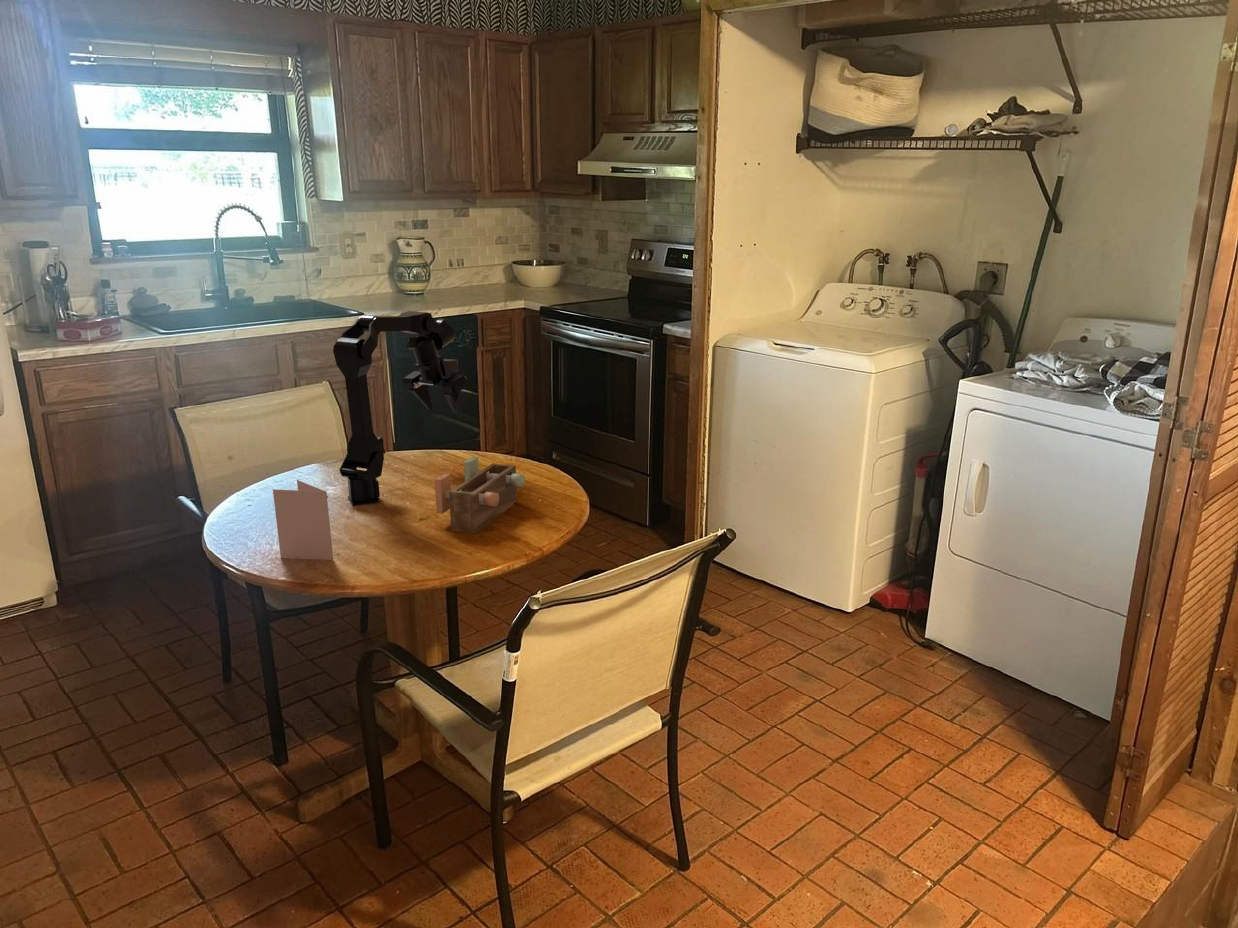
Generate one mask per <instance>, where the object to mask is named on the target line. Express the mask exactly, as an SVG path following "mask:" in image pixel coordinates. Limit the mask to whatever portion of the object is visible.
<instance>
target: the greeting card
mask: <svg viewBox="0 0 1238 928" xmlns="http://www.w3.org/2000/svg"><path fill="white" fill-rule="evenodd" d="M296 487H297V489H294V490H292V489H272V494H273V496H272V497H273V503H274V512H275V520H276V529H277V537H278V546H279V554H280V555H279V556H280V558H282V559H283V558H284V559H297V558H299V559H303V560H317V561H319V560H320V561H334V555H333V554H334V553H333V543H332V535H331V534H332V533H331V532H332V531H331V523H330V514H329V513H330V512H329V505H328V504H329V502H328V498H329V496H328V495H327V493H328V492H327V491H326V490H323V489H321V488H318V487H317V486H316V487H315V486H313V485H311V484H308V483H306V482H304V481H301V480H299V479H296ZM299 559H298V560H299Z"/></svg>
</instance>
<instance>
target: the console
mask: <svg viewBox="0 0 1238 928" xmlns="http://www.w3.org/2000/svg"><path fill="white" fill-rule="evenodd" d="M516 469H517V468H516V465H513V464H512V465H511V464H503V463H491V464H490V465H488V466H487V467H485V468H484V469H482V470H479V473H477V474H476V475H474V476H473V477H471V478H469V479H468V480H466V481H465V480H464V481H463V482H462V483H460V484H458V485H457V486H455V487H454V488H451V491H449V500H450V509H449V510H450V511H449V516H450V531H452V532H453V531H454V532H460V533H461V532H462V533H469V534H477V533H478V532H480V531H481V530H482V529H484V528H485V527H487V525H488V524H490V523H491V522H493V520H495V519H496V518H498V517H499V516H501V514H503V513H505V512H506V511H507V510H508V509H510V508H511V507H512V506H513V505H515V504H516V503H517V502H518V501H517V499H518V497H517V495H518V494H517V487H516V486H511V485H510V484H508V483H506V475H512V474H517V472H516V471H517V470H516ZM486 473H493V474H498V475H497V476H495V477H494V478H492V479H491V480H489V481H487V474H486ZM462 491H464V492H462ZM471 492H472V493H471ZM486 492H492V493H498V494H499V503H498V505H497V506H487V505H484V503H481V502H479V493H481V494H485V493H486ZM514 503H515V504H514Z"/></svg>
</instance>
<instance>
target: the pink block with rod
mask: <svg viewBox="0 0 1238 928" xmlns="http://www.w3.org/2000/svg"><path fill="white" fill-rule="evenodd" d="M451 486H452V484H451V474H450V473H443V474H441V475H440V476H438V477H436V478H434V491H435V493H434V494H435V506H436V509H435V510H436V514H441V515H444V514H445V513H446V512H448V510H450V500H449V491H451V490H452V487H451ZM462 492H464V491H462ZM471 493H472V492H471ZM479 502H481V503H484V505H487V506H497V505H498V503H499V494H498V493H492V492H486V493H485V494H481V493H479Z"/></svg>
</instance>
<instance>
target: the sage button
mask: <svg viewBox="0 0 1238 928" xmlns="http://www.w3.org/2000/svg"><path fill="white" fill-rule="evenodd" d="M463 467H464V469H463V470H464V482H465V481H466V480H468V479H469V478H471V477H473V476H474V475H476V474H477V473H479V472H480V470H479V469H480V468H479V457H478V456H471V457H469V458H468V459H466V460H464V462H463ZM486 474H487V482H488V481H489V480H491V479H492V478H494V477H495V476H497V475H498V474H493V473H489V472H487V473H486ZM525 482H526V477H525V474H522V473H520V474H519V473H516V474H512V475H506V483H508V484H510V485H511V486H516V488H517V487H518V488H523V487H524V485H525Z"/></svg>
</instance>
